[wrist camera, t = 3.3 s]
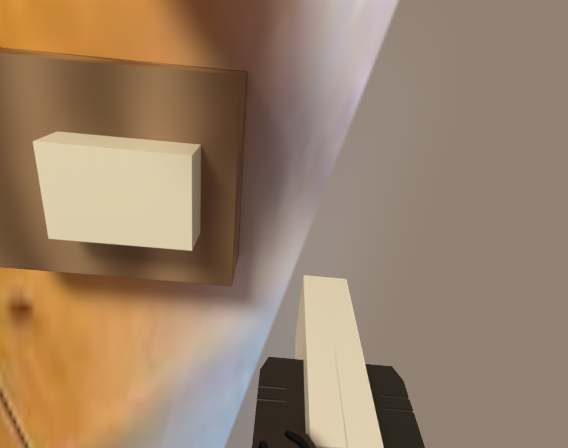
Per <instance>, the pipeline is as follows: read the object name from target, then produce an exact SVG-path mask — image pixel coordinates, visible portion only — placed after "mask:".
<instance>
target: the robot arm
mask: <svg viewBox="0 0 568 448" xmlns="http://www.w3.org/2000/svg"><path fill="white" fill-rule="evenodd" d="M252 448H425V447H424V443H423V440H422V437H421V434H420V431H419V428H418V425H417V422H416V419H415V415H414V413H413V409H412V406H411V403H410V400H408V394H407V391H406V388H405V384H404V382H403V380H402V378H401V377H400V376H399V375H398V374H397V372H396V371H395V370H394V369H393V367H392V366H381V365H370V364H365V361H364V357H363V352H362V348H361V343H360V339H359V334H358V330H357V325H356V321H355V316H354V312H353V307H352V303H351V298H350V294H349V289H348V285H347V280H346V279H339V278H327V277H317V276H305V275H303V283H302V291H301V299H300V306H299V314H298V322H297V330H296V359H287V358H275V357H268V359H267V360H266V362H265V363H264V365H263V366H262V368H261V369H260V377H259V386H258V395H257V405H256V415H255V424H254V434H253V444H252Z"/></svg>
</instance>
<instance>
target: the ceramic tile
mask: <svg viewBox="0 0 568 448" xmlns="http://www.w3.org/2000/svg"><path fill="white" fill-rule="evenodd" d="M33 146H34V153H35V159H36V165H37V171H38V177H39V183H40V190H41V196H42V202H43V208H44V214H45V220H46V226H47V233H48V239H58V240H70V241H82V242H93V243H105V244H117V245H129V246H141V247H153V248H165V249H177V250H189V251H192V250H193V247H194V245H195V243H196V241H197V239H198V237H199V234H200V210H201V145H200V144H189V143H178V142H167V141H156V140H145V139H134V138H123V137H112V136H101V135H90V134H79V133H69V132H58V131H57V132H55V133H52V134H49V135H47V136H44V137H42V138H39V139H37V140H34V141H33Z"/></svg>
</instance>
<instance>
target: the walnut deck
mask: <svg viewBox="0 0 568 448" xmlns="http://www.w3.org/2000/svg"><path fill="white" fill-rule="evenodd" d="M247 73H248V72H246V71H236V70H226V69H215V68H205V67H195V66H184V65H174V64H164V63H153V62H143V61H132V60H122V59H112V58H101V57H91V56H81V55H70V54H60V53H50V52H39V51H29V50H19V49H8V48H0V267H5V268H17V269H29V270H41V271H54V272H66V273H78V274H90V275H102V276H115V277H127V278H139V279H151V280H164V281H176V282H188V283H200V284H212V285H225V286H232V281H233V277H234V273H235V268H236V264H237V260H238V251H239V231H240V212H241V192H242V172H243V152H244V132H245V113H246V93H247ZM57 131H58V132H69V133H79V134H90V135H101V136H112V137H123V138H134V139H145V140H156V141H167V142H178V143H189V144H200V145H201V210H200V234H199V237H198V239H197V241H196V243H195V245H194V247H193V250H192V251H189V250H177V249H165V248H153V247H141V246H129V245H117V244H105V243H93V242H82V241H70V240H58V239H48V233H47V226H46V220H45V214H44V208H43V202H42V196H41V190H40V183H39V177H38V171H37V165H36V159H35V153H34V146H33V141H34V140H37V139H39V138H42V137H44V136H47V135H49V134H52V133H55V132H57Z"/></svg>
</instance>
